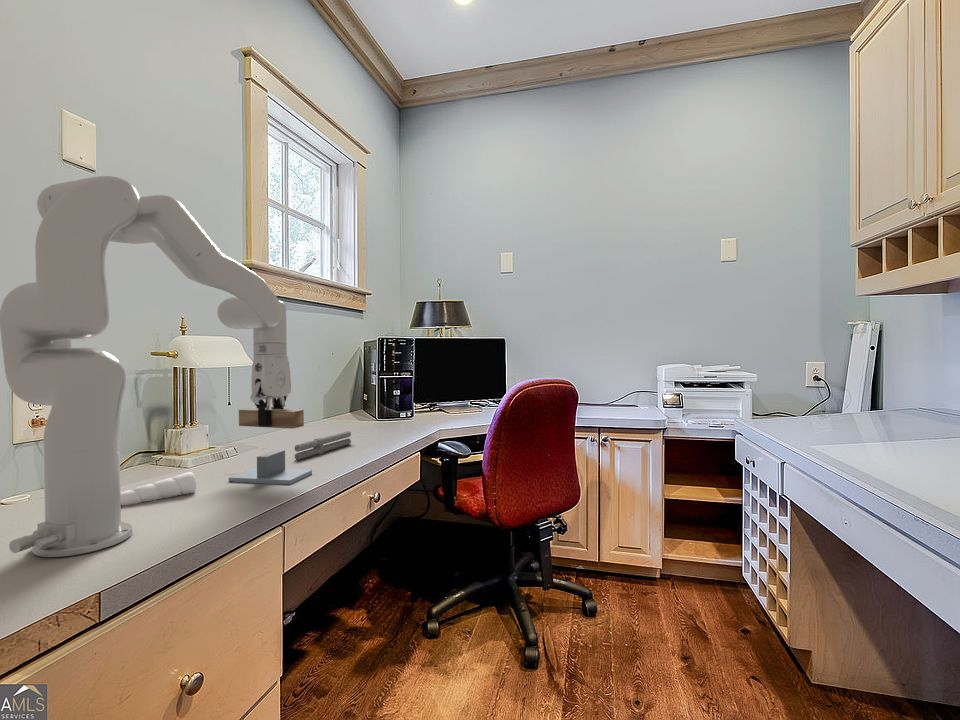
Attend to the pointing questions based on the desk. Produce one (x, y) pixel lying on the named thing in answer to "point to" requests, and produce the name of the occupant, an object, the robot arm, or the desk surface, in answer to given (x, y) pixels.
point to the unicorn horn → (160, 489)
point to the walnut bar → (273, 418)
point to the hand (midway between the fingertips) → (271, 424)
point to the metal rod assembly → (318, 445)
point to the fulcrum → (271, 471)
